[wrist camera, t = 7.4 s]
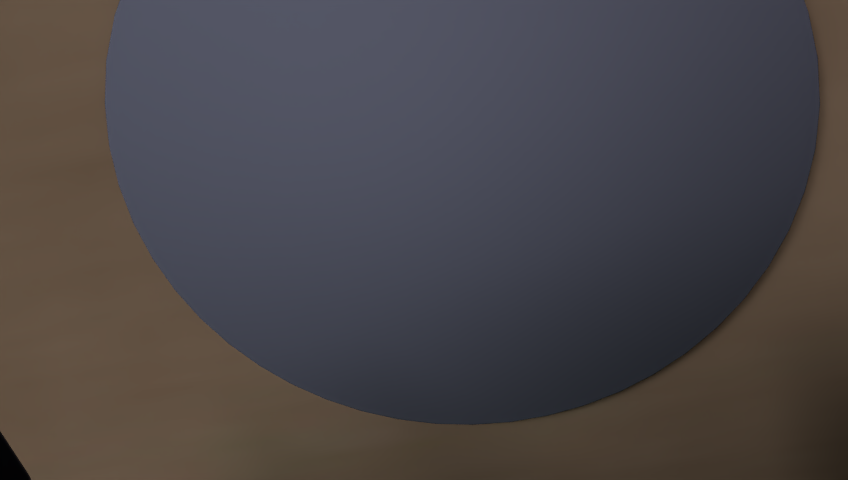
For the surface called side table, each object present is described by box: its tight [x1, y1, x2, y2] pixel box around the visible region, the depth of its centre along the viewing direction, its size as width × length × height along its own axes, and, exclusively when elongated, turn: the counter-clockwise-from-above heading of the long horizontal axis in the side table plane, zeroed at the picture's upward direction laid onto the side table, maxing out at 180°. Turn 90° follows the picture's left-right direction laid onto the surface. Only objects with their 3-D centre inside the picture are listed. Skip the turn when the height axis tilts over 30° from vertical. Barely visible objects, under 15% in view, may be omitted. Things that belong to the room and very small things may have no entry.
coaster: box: [105, 0, 820, 425], centre depth 12 cm, size 10×10×1 cm
